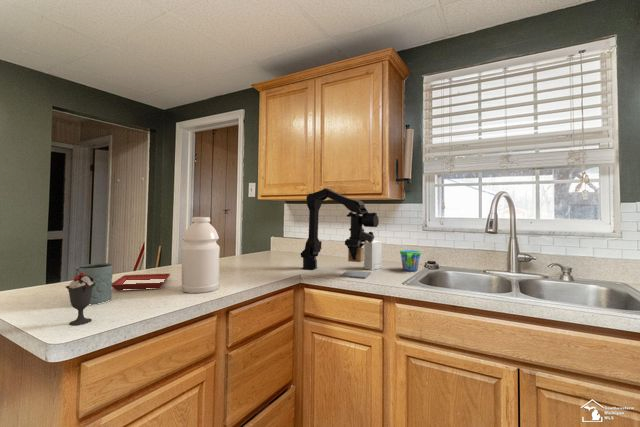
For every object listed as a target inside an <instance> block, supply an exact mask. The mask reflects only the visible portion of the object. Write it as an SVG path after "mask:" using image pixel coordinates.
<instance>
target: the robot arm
mask: <svg viewBox="0 0 640 427" xmlns="http://www.w3.org/2000/svg"><path fill="white" fill-rule="evenodd" d="M327 198H328V199H331V200H333V201H335V202H337V203H338V204H341V205H343V206H344V207H345V208H346V209H347V210H348V211H349V213H347V214H346V217H347V218H350V228H348V230H349V231H350V235H349V237H348V238H346V239H345V241H344V245H345V246H346V247H347V249H349V251H350V253H351V256H352V258H353V260H355V259H356V254H357V249H358V248H363V247H364V244H365V243H366V242H367V241H368V242H370V243H371V242H373V241H374V239H375V235H374V232H372V231H369V232H366V231H365V229H364V228H377V227H378V226H379V221H380V220H379V217H378V214H377V212H369V211H368V210H367V208H366V207H365V202H364V201H362V200H359V199H355V198H349V197H347V196H345V195H343V194H342V193H339V192H336V191H334V190H332V189H331V188H327V187H326V188H323V189H321V190H319V191H315V192H312V193H309V194H308V195H307V196H306V198H305V200H306V206H307V208H308V216H309V217H308V237H307V240H306V242H305V245H304V249H303V250H302V251H301V253H300V257H301V258H302V267H301V269H302V270H309V271H313V270H315V269H318V260H317V257H318V256H319V253H320V252H321V250H322V241H321V240H319V213H320V212H319V211H320V208H321V207H322V204H323V201H326V200H327ZM363 226H364V228H363Z"/></svg>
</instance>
